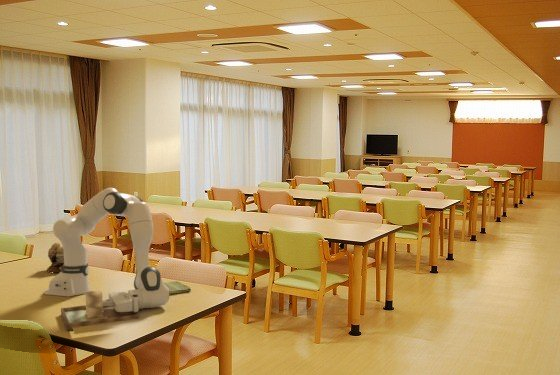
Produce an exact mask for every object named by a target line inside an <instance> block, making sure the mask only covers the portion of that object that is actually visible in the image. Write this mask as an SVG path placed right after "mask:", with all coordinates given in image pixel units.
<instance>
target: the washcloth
mask: <svg viewBox="0 0 560 375" xmlns="http://www.w3.org/2000/svg"><path fill="white" fill-rule="evenodd" d="M164 284H165V285H166V286H167V287H168V288H169V292H170V295H169V296H172V295H171V294H173V295H177V294H176V293H178V294H183V293H187V291H188V292H191V291H192V289H191V287H190V286H189V285H187V284H184V283H182V282H180V281H177V280H174V281H168V282H164Z"/></svg>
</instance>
